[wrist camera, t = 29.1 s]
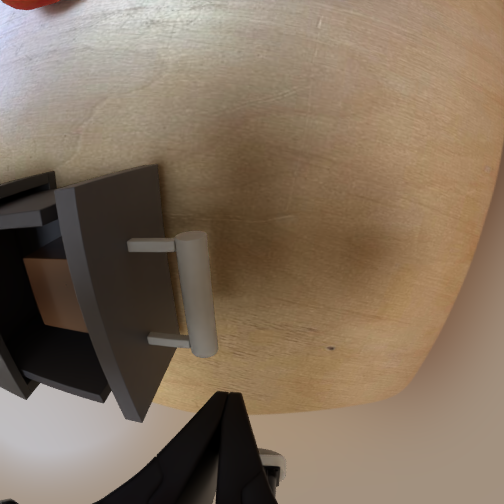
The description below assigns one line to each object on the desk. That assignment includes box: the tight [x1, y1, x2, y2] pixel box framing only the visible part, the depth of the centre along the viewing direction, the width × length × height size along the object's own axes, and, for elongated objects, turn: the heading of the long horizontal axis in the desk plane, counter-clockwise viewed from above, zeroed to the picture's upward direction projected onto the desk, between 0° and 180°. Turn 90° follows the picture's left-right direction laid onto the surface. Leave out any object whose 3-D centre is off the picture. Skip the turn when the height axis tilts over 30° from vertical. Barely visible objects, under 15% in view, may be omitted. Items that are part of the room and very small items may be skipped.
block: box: [23, 236, 88, 333], centre depth 18 cm, size 5×5×5 cm
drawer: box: [0, 164, 218, 423], centre depth 17 cm, size 20×14×9 cm
